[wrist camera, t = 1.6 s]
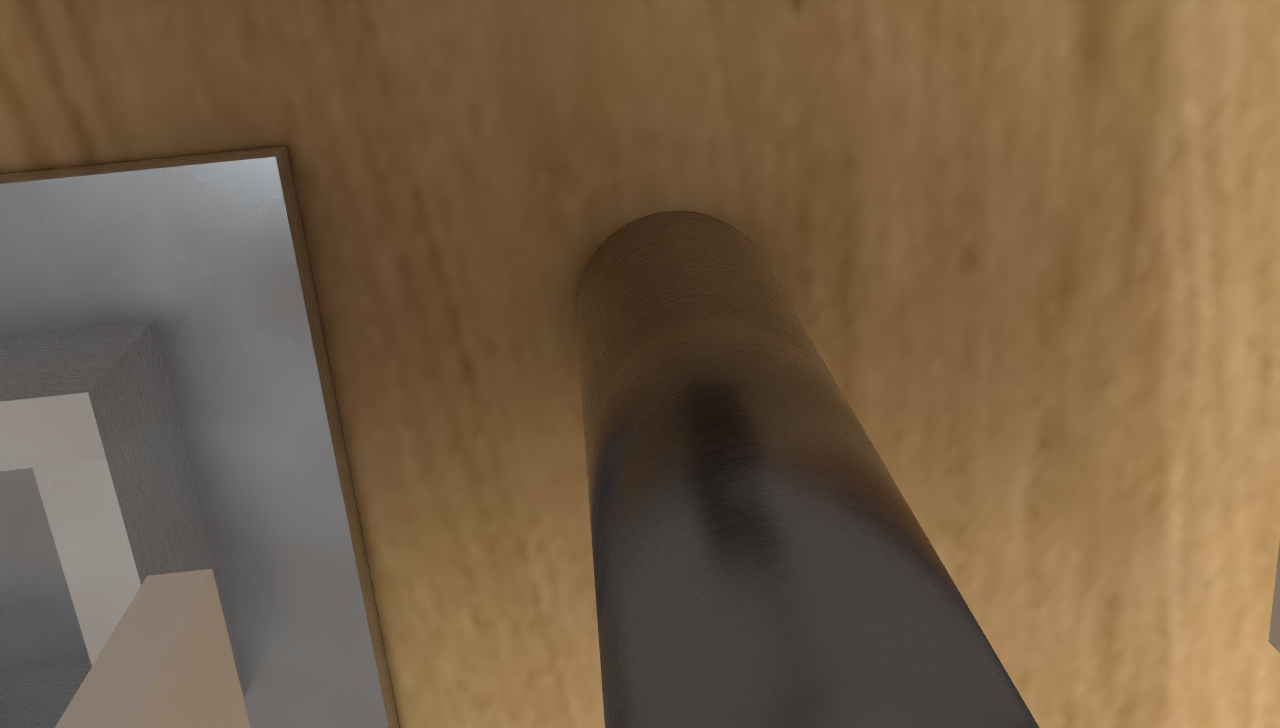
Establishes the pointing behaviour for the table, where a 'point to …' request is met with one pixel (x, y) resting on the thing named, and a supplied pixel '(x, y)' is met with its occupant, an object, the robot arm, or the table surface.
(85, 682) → the robot arm
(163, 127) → the table surface
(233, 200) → the open box on baseplate
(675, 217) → the dark cylinder
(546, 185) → the table surface
